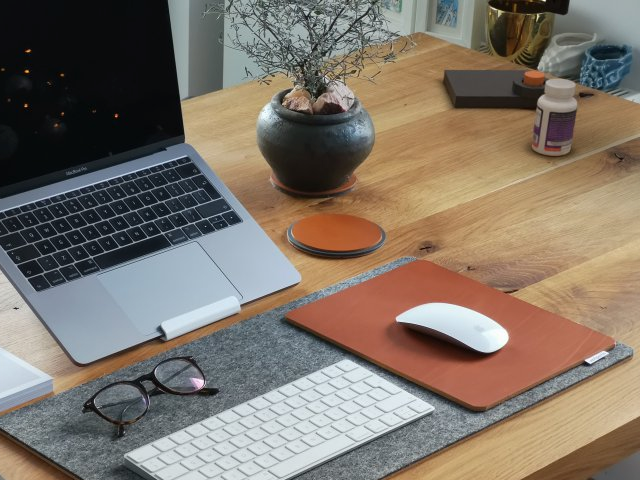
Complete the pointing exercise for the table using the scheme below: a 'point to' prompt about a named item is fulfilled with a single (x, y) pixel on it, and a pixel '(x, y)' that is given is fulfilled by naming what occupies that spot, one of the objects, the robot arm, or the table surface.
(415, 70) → the table surface
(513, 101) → the scale
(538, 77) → the button
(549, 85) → the pill bottle
